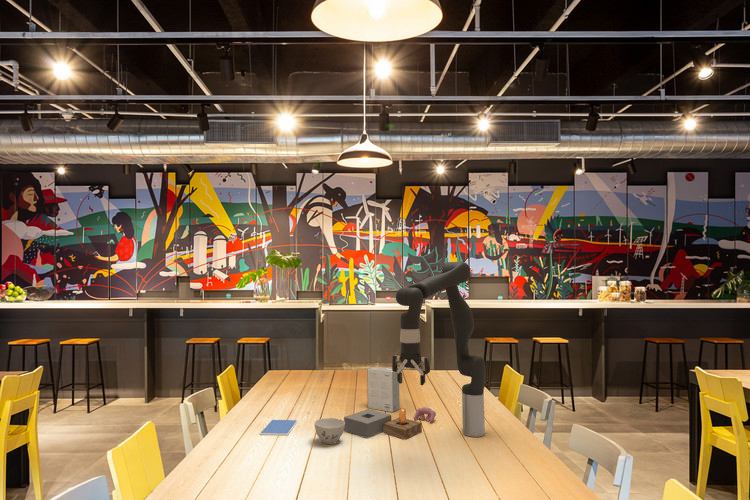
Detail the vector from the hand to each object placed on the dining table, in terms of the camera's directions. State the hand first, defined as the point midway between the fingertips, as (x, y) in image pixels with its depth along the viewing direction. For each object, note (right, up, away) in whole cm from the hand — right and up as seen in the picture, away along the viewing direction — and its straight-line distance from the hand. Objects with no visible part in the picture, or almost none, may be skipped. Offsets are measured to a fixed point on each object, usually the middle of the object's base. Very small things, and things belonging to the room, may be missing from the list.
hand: (411, 384), depth 166 cm
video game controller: (+10, -31, +42) cm, 53 cm away
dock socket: (-17, -29, +30) cm, 45 cm away
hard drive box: (-9, -32, +62) cm, 71 cm away
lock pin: (-2, -29, +26) cm, 39 cm away
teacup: (-32, -29, +17) cm, 46 cm away
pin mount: (-2, -29, +26) cm, 39 cm away
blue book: (-57, -31, +33) cm, 72 cm away
